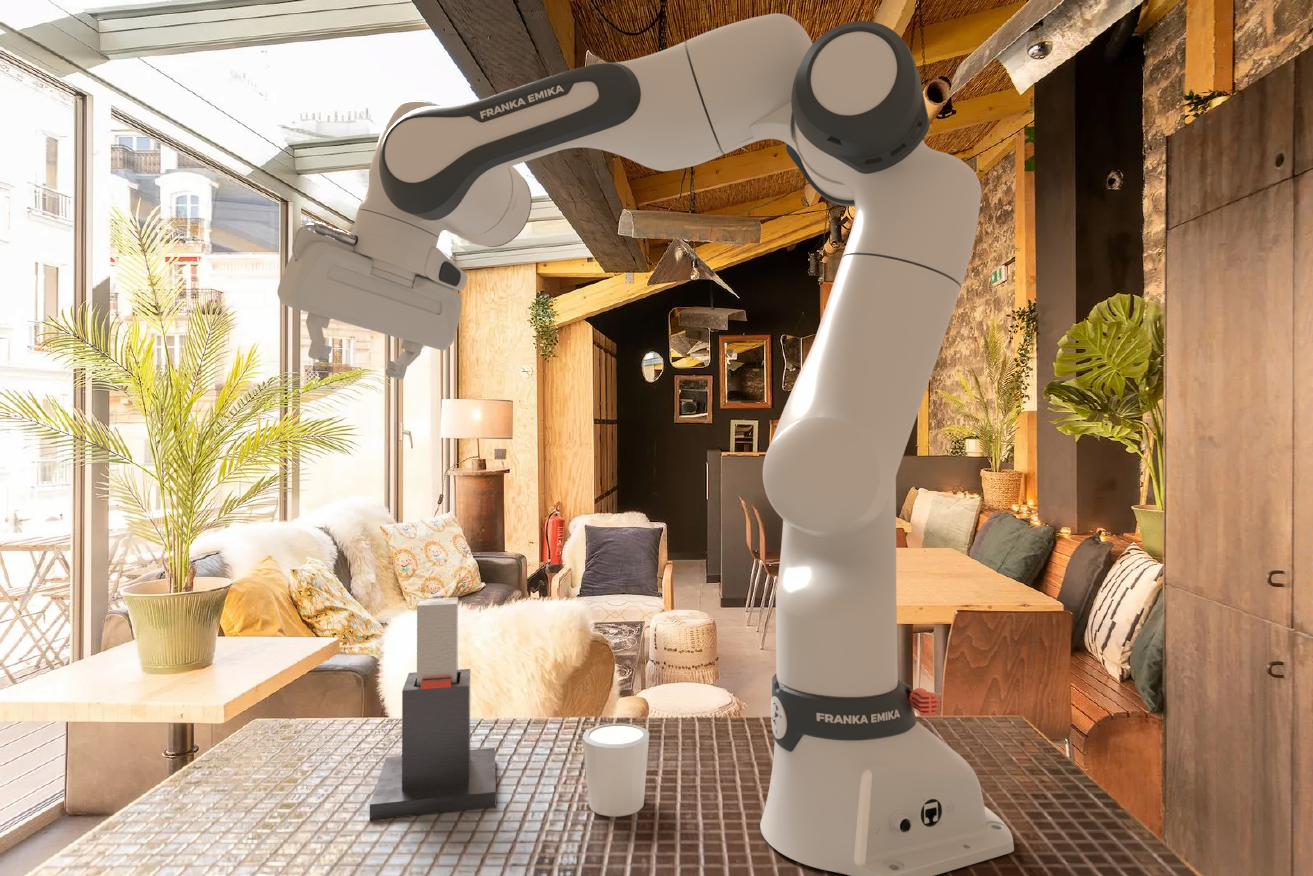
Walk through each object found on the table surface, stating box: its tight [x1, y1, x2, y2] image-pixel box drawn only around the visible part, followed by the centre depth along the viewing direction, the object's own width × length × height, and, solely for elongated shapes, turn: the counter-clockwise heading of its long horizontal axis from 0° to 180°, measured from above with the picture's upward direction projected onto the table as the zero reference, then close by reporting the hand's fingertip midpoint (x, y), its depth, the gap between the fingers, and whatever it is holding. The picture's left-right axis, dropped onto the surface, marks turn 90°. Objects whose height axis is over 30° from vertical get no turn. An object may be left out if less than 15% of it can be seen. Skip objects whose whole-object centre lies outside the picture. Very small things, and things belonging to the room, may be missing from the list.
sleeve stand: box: [369, 668, 497, 821], centre depth 80 cm, size 12×12×12 cm
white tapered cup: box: [582, 723, 650, 817], centre depth 77 cm, size 7×7×7 cm
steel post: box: [416, 596, 459, 687], centre depth 81 cm, size 4×4×18 cm
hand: (357, 368), depth 85 cm, fingers open, 8 cm apart
